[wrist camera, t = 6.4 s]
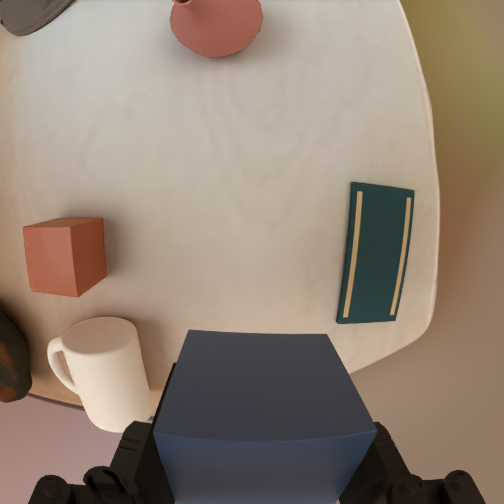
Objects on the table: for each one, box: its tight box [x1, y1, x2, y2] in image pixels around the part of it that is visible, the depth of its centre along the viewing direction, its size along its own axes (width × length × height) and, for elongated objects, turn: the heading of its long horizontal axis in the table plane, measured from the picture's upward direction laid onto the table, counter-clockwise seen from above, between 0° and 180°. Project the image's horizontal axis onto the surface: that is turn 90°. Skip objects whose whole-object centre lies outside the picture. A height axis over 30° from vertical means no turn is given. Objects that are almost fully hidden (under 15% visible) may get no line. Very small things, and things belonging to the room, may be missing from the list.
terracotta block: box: [23, 218, 107, 297], centre depth 22 cm, size 6×6×6 cm
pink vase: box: [170, 0, 263, 57], centre depth 16 cm, size 8×8×12 cm
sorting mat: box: [336, 182, 414, 324], centre depth 26 cm, size 14×7×1 cm, turn 178°
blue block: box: [153, 330, 377, 504], centre depth 9 cm, size 6×6×6 cm
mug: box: [47, 317, 153, 432], centre depth 24 cm, size 12×10×8 cm
